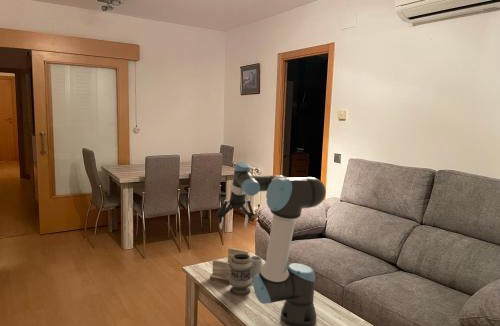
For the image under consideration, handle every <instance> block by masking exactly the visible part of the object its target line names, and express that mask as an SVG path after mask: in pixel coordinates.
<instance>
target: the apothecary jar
mask: <svg viewBox="0 0 500 326" xmlns="http://www.w3.org/2000/svg"><path fill="white" fill-rule="evenodd" d="M250 257H251V256H250V255H249V253H248V254H245V253H237V254H234V255H233V258H232V259H231V260H230V262H229V266H230V268H231V275H230V277H229V283H230V284H229V285H230V286H231V288H230V289H229V290H230V293H232V295H234V296H239V297H243V296H247V295H249V294H250V293H251V288H250V286H252V285H253V278H252V276H251V268H252V267H253V262H252V260H251V259H250Z"/></svg>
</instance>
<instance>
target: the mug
mask: <svg viewBox="0 0 500 326" xmlns="http://www.w3.org/2000/svg"><path fill="white" fill-rule="evenodd" d="M250 259H251V260H252V262H253V267H252V268H251V276H252V278H253V277H254V275H256V274H260V269H261V267H262V266H263V261H262V259H263V258H262V257H260V256H259V255H253V256H250Z"/></svg>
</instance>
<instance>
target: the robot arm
mask: <svg viewBox="0 0 500 326" xmlns="http://www.w3.org/2000/svg"><path fill="white" fill-rule="evenodd" d="M250 171H251V165H250V164H249V163H247V162H242V161H241V162H237V163H236V164H235V166H234V170H233V172H234V173H233V177H232V179H233V180H232V186H231V191H230V199H228V200H227V199H224V200H223V203H222V204H221V206H220V207H218V210H217V211H216V213H215V216H216V218H218V223H219V228H220V230H222V229H223V226H224V216H226V215H227V214H228V213H229V212H230V211H232V210H234V209H235V210H236V209H238V210H239V209H242V210H243V212H244V213H245V219H244V223H243V224H244V225H243V226H244V228H245V229H247V228H248V223H249V222H250V220H251V218H252V217H254V216H255V214H254V211H253V208H252V205H251V204H252V203H251V200H250V198H247V199H246V195H247V196H250V197H253V196H255V195H257V194H258V193H259V192H266V197H265V198H266V205H267V207H268V208H269V210H270V213H271V214H272V220H271V221H272V222H271V227H270V233H269V239H268V244H267V249H266V250H267V251H266V256H265V257H266V258H265V262H264V263H263V264H262V267H261V269H260V274H256V275H254V277H253V283H252V286H253V287H252V288H253V291H254V293H255V297H256V298H257V300H258V301H259V303H261V304H262V305H263V304H271V303H277V302H282V301H284V304H283V305H282V308H281V311H280V312H281V313H280V319H281V320H282V322H283V323H285V324H286V325H288V326H314V325H315V324H316V322H317V312H316V309H315V305H314V304H315V303H314V297H315V296H314V295H315V285H316V283H315V282H316V272H315V271H314V269H313V268H312V267H310V266H308V265H306V264H303V263H298V262H297V263H295V262H294V263H289V264H288V261H289V255H290V250H291V245H292V239H293V235H294V231H295V230H294V229H295V226H296V220H297V219H299V218H300V217H301V215H302V210H303V209H311V208H315V207H318V206H319V205H321V203H323V201H324V200H325V198H326V195H327V194H326V193H327V190H326V187H325V186H326V185H324V182H323V181H321V180H320V179H318V178H316V177H312V176H307V177H306V176H305V177H287V176H284V175H281V174H273V175H271V174H270V175H252V174H251V172H250ZM245 204H246V205H247V207H248V209H249V211H248V210H247V208H246V207H245V206H244V205H245Z"/></svg>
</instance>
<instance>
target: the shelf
mask: <svg viewBox="0 0 500 326" xmlns="http://www.w3.org/2000/svg"><path fill="white" fill-rule="evenodd" d="M237 253H245V254H248V255H249V250H245V249H244V250H243V249H239V248H234V247H228V249H227V261H224V260H223V261H222V260H218V259H212V274H210V276H209V280H210V281H215V282H218V283H224V284H227V285H230V283H229V277H230V275H231V268H230V266H229V262H230V260H231V259H232V258H233V255H234V254H237Z"/></svg>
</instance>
